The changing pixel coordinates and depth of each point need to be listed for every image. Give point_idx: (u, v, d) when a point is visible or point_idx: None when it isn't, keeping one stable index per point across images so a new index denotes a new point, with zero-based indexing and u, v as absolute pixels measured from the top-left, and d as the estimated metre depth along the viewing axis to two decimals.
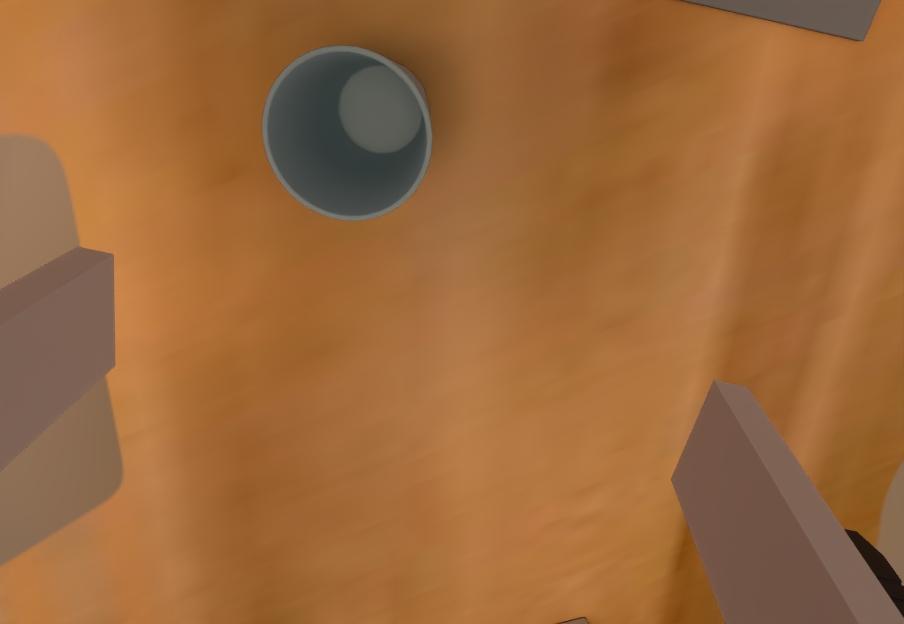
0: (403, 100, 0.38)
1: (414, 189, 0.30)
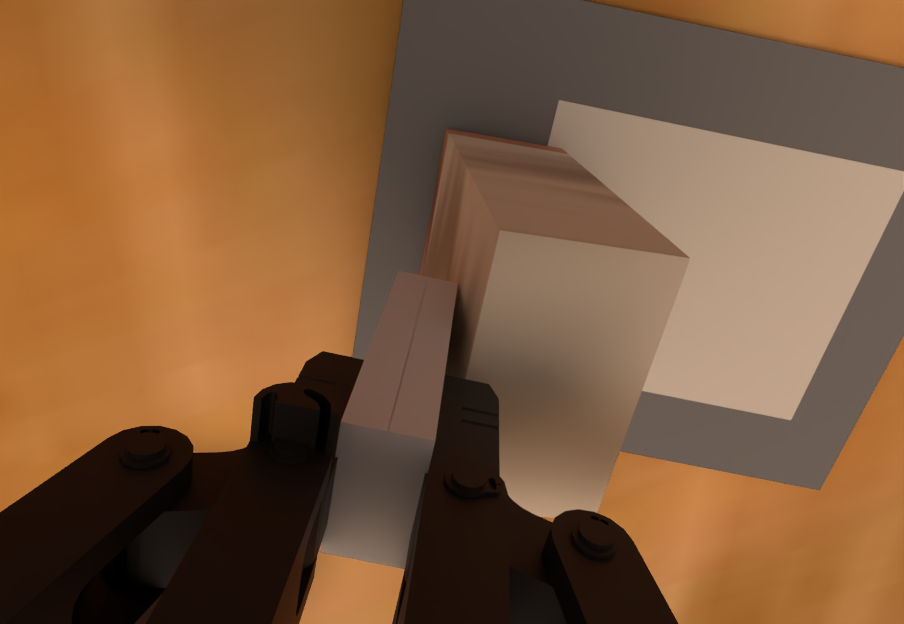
0: None
1: None
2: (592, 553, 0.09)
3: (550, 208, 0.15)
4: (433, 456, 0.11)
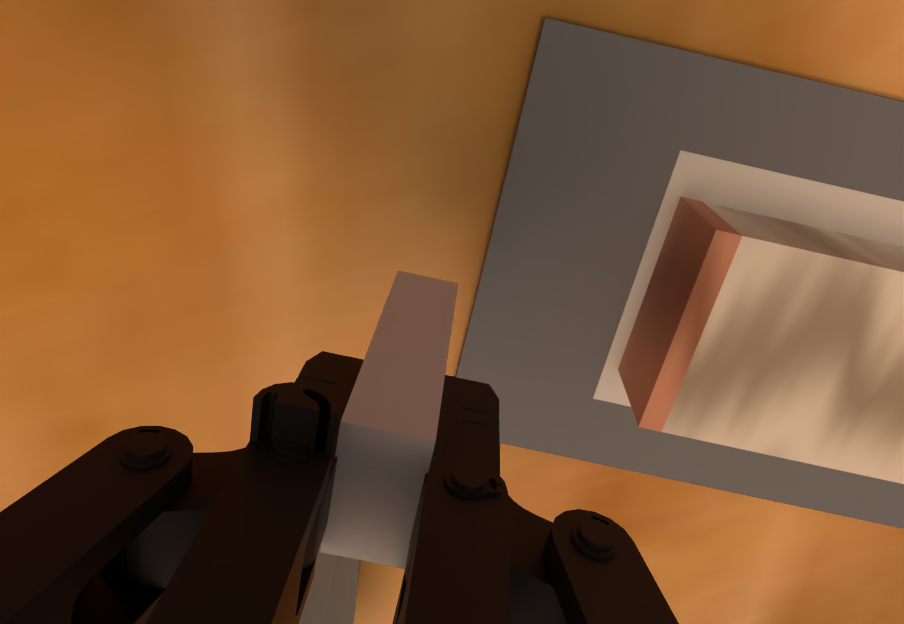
0: None
1: None
2: (592, 553, 0.09)
3: None
4: (433, 456, 0.11)
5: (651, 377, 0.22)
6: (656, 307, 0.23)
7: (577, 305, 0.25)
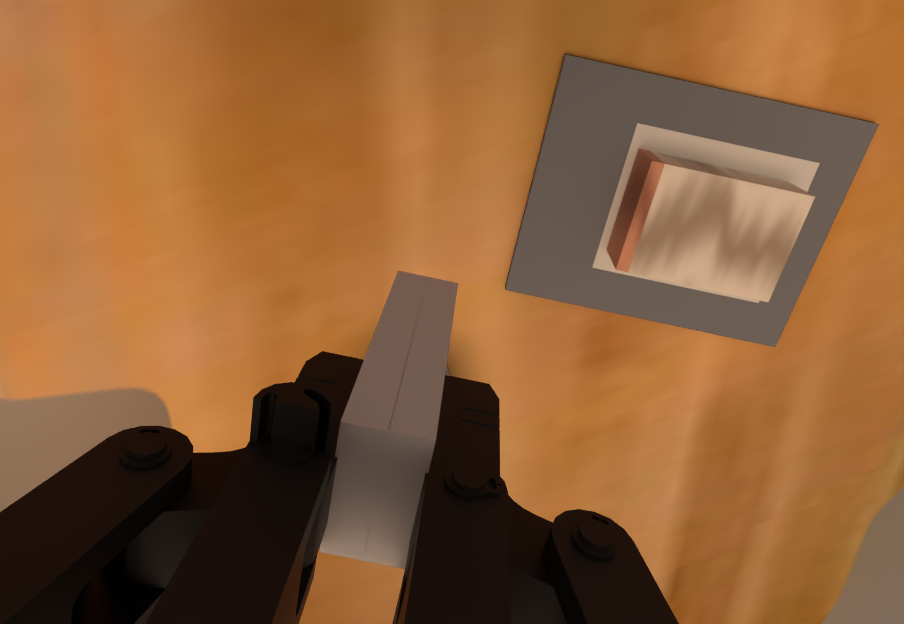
0: None
1: None
2: (592, 553, 0.09)
3: (769, 182, 0.40)
4: (433, 456, 0.11)
5: (622, 242, 0.41)
6: (625, 208, 0.42)
7: (583, 211, 0.44)
